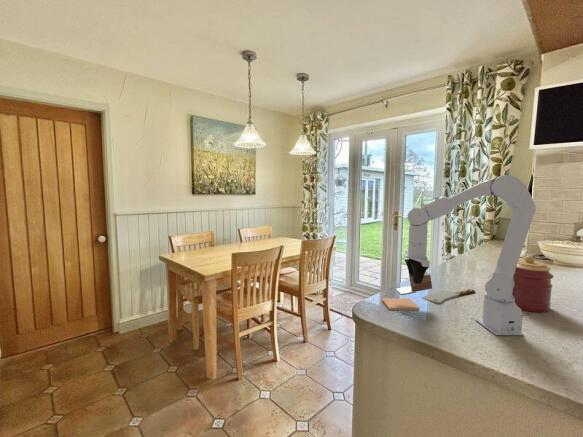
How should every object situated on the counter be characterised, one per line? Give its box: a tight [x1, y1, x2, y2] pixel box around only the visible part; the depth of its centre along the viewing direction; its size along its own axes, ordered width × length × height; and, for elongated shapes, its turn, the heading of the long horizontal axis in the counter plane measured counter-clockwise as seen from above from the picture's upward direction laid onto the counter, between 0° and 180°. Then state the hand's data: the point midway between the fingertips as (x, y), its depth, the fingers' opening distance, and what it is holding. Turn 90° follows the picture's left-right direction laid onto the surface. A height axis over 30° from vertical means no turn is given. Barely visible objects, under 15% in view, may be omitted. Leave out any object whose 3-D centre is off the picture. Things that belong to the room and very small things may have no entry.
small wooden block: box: [395, 271, 433, 296], centre depth 99 cm, size 5×11×5 cm, turn 89°
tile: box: [381, 297, 420, 311], centre depth 100 cm, size 8×1×10 cm
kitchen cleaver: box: [420, 288, 476, 305], centre depth 110 cm, size 24×1×10 cm
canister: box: [512, 255, 554, 313], centre depth 100 cm, size 13×13×18 cm
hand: (415, 281), depth 99 cm, fingers closed on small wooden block, 3 cm apart
